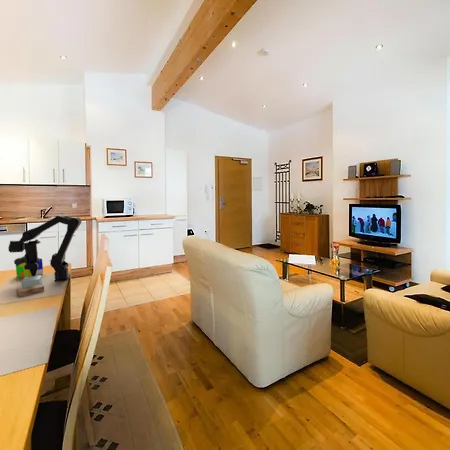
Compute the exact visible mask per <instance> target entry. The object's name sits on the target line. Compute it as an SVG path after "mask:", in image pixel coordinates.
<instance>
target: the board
mask: <svg viewBox="0 0 450 450" xmlns="http://www.w3.org/2000/svg"><path fill="white" fill-rule="evenodd" d="M41 291H42V292H45V286H44V285H43V284H40V285H36V286H31V287H27V288H20V289H19V288H18V289H16V290H15V292H16V296H17V297H20V298H21V297H22V298H23V297H25V296H29V295H34V294H38V293H42V292H41Z"/></svg>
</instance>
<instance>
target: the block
mask: <svg viewBox="0 0 450 450" xmlns="http://www.w3.org/2000/svg"><path fill="white" fill-rule="evenodd" d="M42 279H43V277H42V274H40V275H37V276H30V277H23V279H22V280H21V286H22V288H27V287H31V286H36V285H40V284H41V285H43V280H42ZM22 288H21V289H22Z"/></svg>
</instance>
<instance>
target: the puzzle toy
mask: <svg viewBox="0 0 450 450" xmlns="http://www.w3.org/2000/svg"><path fill="white" fill-rule="evenodd" d="M38 258H39V259H40V262H36V263H38V264H39V266H38V269H37V272H36V275H35V276H38V275H43V274H44V267H43V259H42V258H40V257H38ZM25 264H26V263H22V264H20V265H18V266H16V265H15V270H16V271H15V272H16V277H17V278H24V277H30V276H32V275H31V272H30V270H29V269H26V270H25V269H24V266H25Z"/></svg>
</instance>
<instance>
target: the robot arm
mask: <svg viewBox="0 0 450 450" xmlns="http://www.w3.org/2000/svg"><path fill="white" fill-rule="evenodd" d="M60 223H61V224H63V225H66V233H65V235H64V237H63V240H62V242H61V244H60V246H59V249H58V251H57V252H55V253H53V254H52V255H51V259H50V260H49V262H50V263H49V264H50V266H51V268H53V270H54V273H53V274H54V281H55V282H59V281H60V282H61V281H67V280H68V279H70V278H71V276H69V275H70V274H69V268H68V267H69V266H70V265H69V262H67V261H66V253H67V251H68V248H69V246H70V243H71V241H72V239H73V236H75V233H76V231H77V230H79V227H80V226H81V225H82V219H81V217H79V216H74V217H71V216H65V215H62V214H60V215H59V214H58V215H56V216H55V217H53V218H51V219H49V220H48V221H46V222H43V224H40V225H39V226H36V227H34V228H32V229H28V230H26V231H24V232H23V233H22V234H21V238H20V239H19V240H10V241H9V243H8V247H7V249H8V252H9V253H10V254H11V253H23V252H24V251H25V252H24V253H25V254H24V255H23V256H21V257H17V258H15V259H14V261H13V262H14V265H15V267H16V266H18V265H20V264H22V263H26V264H25V266H24V269H25V270H26V269H29V270H30V272H31V275H32V276H35V275H36V272H37V269H38V266H39V264H38V263H36V262H40V259H41V258H40V257H38V253H39V252H38V247H37V246H38V244H41V241H40V240H39V239H37V238H38V237H39V236H40V235H41V234H42V233H43V232H45V231H47V230H49V229H51V228H52V227H54V226H56V225H58V224H60ZM39 258H40V259H39Z"/></svg>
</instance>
